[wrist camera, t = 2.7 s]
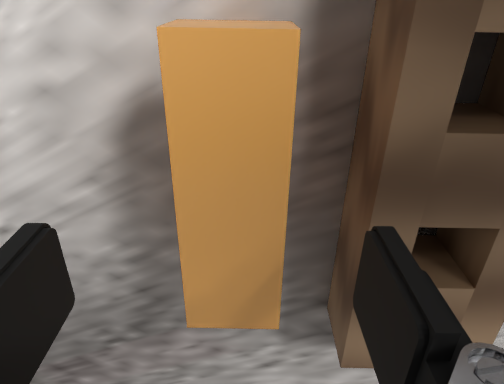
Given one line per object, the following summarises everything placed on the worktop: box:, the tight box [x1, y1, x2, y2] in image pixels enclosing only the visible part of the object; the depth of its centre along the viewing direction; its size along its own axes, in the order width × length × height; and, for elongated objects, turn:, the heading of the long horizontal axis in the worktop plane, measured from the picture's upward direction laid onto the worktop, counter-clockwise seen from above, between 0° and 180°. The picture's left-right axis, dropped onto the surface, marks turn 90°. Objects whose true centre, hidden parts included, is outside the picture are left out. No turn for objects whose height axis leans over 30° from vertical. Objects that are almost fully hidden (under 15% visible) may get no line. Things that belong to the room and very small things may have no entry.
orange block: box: [157, 19, 301, 329], centre depth 16 cm, size 12×4×7 cm, turn 179°
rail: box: [327, 0, 504, 368], centre depth 17 cm, size 24×8×4 cm, turn 179°
